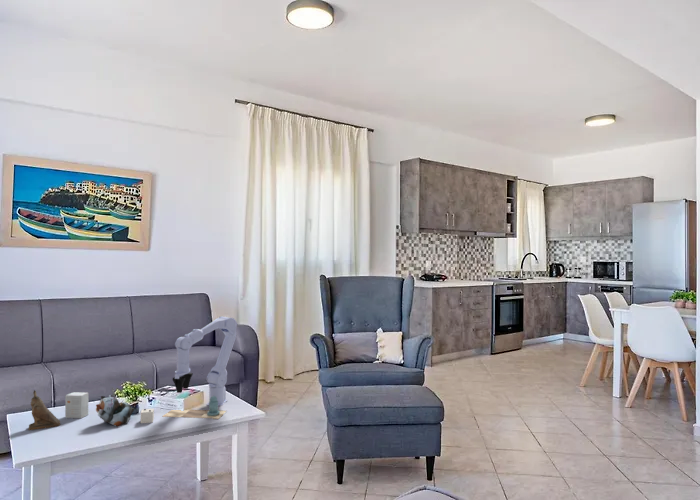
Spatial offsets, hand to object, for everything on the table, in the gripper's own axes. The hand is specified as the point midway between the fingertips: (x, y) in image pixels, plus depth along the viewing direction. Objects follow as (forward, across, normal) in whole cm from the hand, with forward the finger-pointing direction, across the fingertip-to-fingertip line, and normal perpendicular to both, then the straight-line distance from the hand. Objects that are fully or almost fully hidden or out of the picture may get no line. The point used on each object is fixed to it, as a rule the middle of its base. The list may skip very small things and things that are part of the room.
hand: (182, 390), depth 242 cm
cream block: (+10, +16, -10) cm, 21 cm away
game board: (+10, +3, +8) cm, 13 cm away
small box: (+10, +12, -46) cm, 48 cm away
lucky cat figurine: (+10, +19, -23) cm, 32 cm away
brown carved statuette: (+11, +26, -51) cm, 58 cm away
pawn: (+10, +3, +17) cm, 20 cm away
